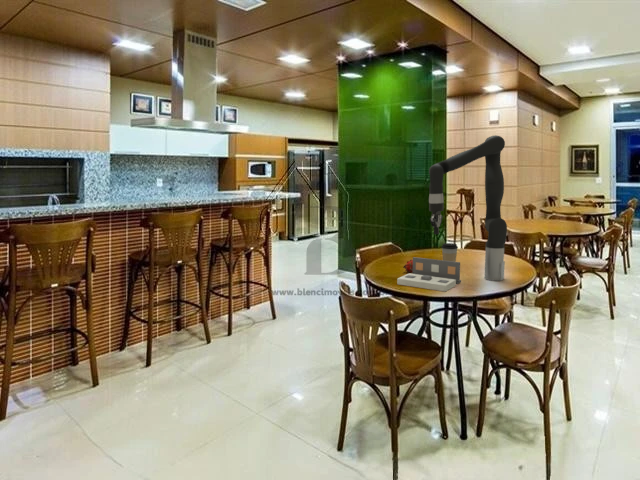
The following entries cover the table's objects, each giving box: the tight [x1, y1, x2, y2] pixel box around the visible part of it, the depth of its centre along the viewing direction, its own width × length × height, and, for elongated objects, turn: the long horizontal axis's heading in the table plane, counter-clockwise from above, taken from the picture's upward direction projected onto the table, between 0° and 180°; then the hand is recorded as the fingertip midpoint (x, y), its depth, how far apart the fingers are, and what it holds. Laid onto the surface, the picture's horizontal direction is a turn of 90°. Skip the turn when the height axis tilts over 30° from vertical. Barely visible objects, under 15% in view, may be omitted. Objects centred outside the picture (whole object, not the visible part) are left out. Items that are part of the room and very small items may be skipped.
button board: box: [396, 272, 457, 292], centre depth 230 cm, size 26×14×3 cm, turn 54°
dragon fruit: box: [402, 259, 413, 274], centre depth 257 cm, size 8×8×12 cm
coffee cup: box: [440, 242, 459, 262], centre depth 262 cm, size 9×9×15 cm
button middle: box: [421, 275, 432, 281], centre depth 230 cm, size 4×4×3 cm
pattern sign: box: [412, 256, 462, 285], centre depth 239 cm, size 26×6×11 cm, turn 54°
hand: (436, 234), depth 241 cm, fingers closed
